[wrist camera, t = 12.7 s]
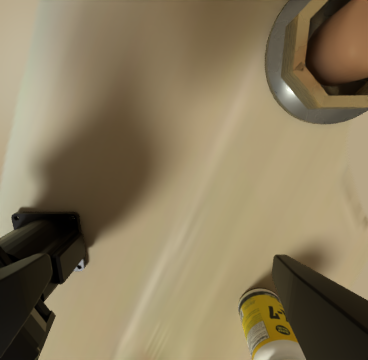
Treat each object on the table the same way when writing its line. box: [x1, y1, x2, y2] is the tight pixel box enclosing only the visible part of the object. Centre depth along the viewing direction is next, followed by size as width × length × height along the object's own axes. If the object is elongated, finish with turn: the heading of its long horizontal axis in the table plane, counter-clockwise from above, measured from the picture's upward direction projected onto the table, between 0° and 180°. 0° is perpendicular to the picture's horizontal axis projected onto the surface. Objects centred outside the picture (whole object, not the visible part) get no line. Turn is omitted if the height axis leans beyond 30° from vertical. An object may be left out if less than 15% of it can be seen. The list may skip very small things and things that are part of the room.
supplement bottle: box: [238, 289, 306, 360], centre depth 19 cm, size 5×5×8 cm
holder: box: [265, 0, 368, 124], centre depth 16 cm, size 11×11×3 cm
